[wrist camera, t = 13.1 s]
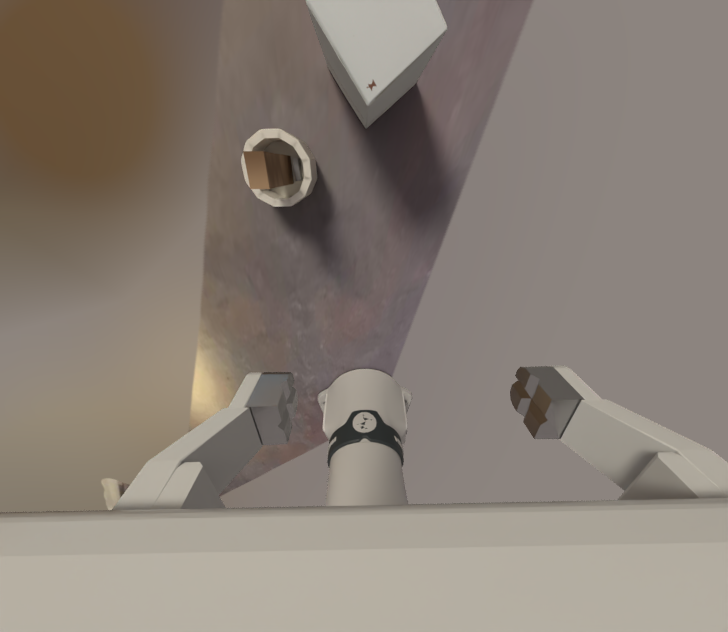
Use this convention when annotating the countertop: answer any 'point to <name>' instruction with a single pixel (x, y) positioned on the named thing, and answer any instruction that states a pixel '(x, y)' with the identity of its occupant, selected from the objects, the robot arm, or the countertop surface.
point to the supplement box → (376, 47)
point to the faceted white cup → (300, 162)
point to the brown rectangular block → (268, 169)
